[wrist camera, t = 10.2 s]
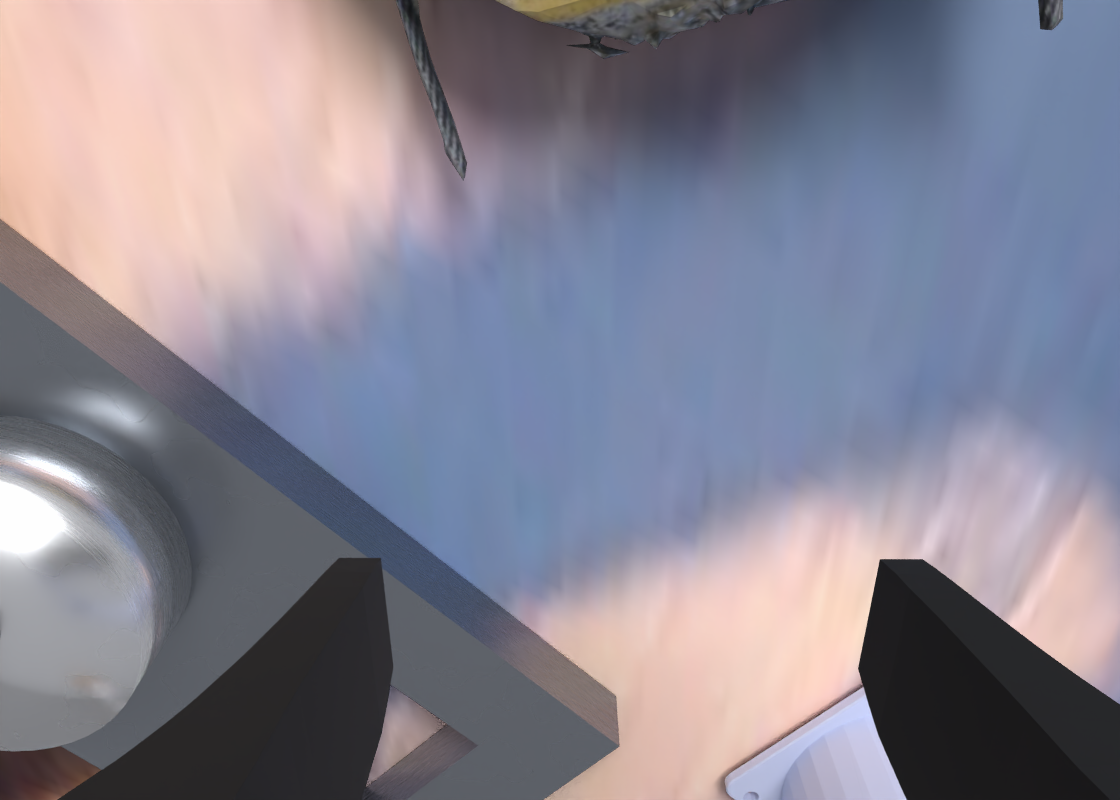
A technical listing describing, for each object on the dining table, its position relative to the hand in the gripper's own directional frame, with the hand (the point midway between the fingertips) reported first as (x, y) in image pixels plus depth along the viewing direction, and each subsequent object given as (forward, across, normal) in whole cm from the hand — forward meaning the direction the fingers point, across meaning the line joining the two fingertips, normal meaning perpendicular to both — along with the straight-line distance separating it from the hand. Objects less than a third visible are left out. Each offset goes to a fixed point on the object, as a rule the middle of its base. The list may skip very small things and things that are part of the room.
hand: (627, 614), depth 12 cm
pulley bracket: (+10, +11, +8) cm, 18 cm away
